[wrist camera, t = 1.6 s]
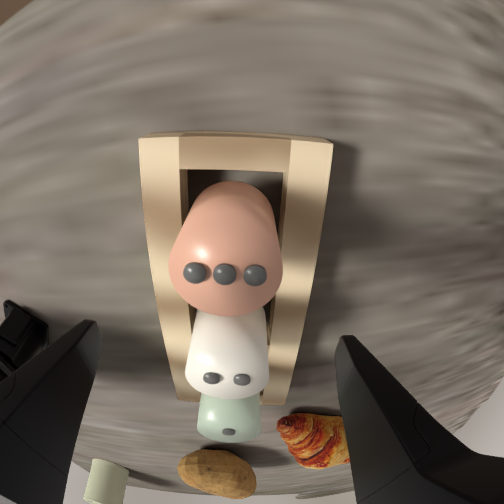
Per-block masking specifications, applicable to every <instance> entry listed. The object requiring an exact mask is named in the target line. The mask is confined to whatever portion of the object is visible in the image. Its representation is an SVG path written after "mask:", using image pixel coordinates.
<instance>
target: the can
mask: <svg viewBox="0 0 504 504" xmlns="http://www.w3.org/2000/svg"><path fill="white" fill-rule="evenodd" d="M128 475H129V471H128V470H127V469H125V468H124V467H122V466H120V465H117V464H115V463H112V462H109V461H106V460H103V459H97V458H95V459H93V462H92V467H91V471H90V475H89V479H88V483H87V487H86V491H85V495H84V498H83V499H84V500H86V501H88V502H90V503H92V504H123V499H124V493H125V487H126V483H127V478H128Z"/></svg>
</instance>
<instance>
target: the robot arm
mask: <svg viewBox="0 0 504 504" xmlns="http://www.w3.org/2000/svg"><path fill="white" fill-rule="evenodd" d="M3 305H4V312H5V320H4V321H3V322H2V324H1V325H0V504H63V499H64V493H65V488H66V483H67V478H68V473H69V468H70V464H71V460H72V455H73V451H74V447H75V443H76V439H77V436H78V432H79V428H80V425H81V421H82V418H83V414H84V411H85V407H86V404H87V401H88V397H89V394H90V391H91V388H92V385H93V381H94V378H95V374H96V369H97V364H98V360H99V356H100V351H101V347H102V342H103V339H102V335H101V333H100V330H99V327H98V325H97V323H96V321H94V320H87V319H86V320H83V321H82V322H80V323H79V324H78V325H76V326H75V327H74V328H72V329H71V330H69V331H68V332H67V333H65V334H64V335H63V336H61V337H60V338H58V339H57V340H56V341H54V342H53V343H52V344H50V345H49V344H48V326H47V325H46V324H45V323H43V322H42V321H40V320H38V319H36V318H35V317H33V316H31V315H30V314H28V313H26V312H25V311H23V310H21V309H20V308H18V307H17V306H15V305H13V304H12V303H10V302H9V301H7V300H6V301H5V302H4V303H3ZM335 366H336V377H337V389H338V399H339V404H340V409H341V414H342V420H343V425H344V430H345V436H346V441H347V447H348V452H349V458H350V464H351V470H352V476H353V483H354V489H355V496H356V502H357V504H504V458H502V457H495V456H489V455H483V454H479V453H477V452H474V451H472V450H471V449H469V448H468V447H467V446H465V445H464V444H463V443H462V442H460V441H459V440H458V439H457V438H456V437H455V436H453V435H452V434H451V433H450V432H449V431H448V430H446V429H445V428H444V427H443V426H442V425H441V424H440V423H439V422H437V421H436V420H435V419H434V418H433V417H432V416H431V415H430V414H429V413H428V412H427V411H426V410H425V409H424V408H423V407H422V406H421V405H420V404H419V403H417V401H416V400H415V398H414V397H413V396H412V395H411V394H410V393H409V392H408V391H407V390H406V389H405V388H404V387H403V386H402V385H401V384H400V383H399V382H398V381H397V380H396V379H395V378H394V377H393V375H392V374H391V373H390V372H389V371H388V370H387V369H386V368H385V367H384V366H383V365H382V364H381V363H380V362H379V361H378V360H377V359H376V358H375V357H374V356H373V355H372V354H371V353H370V352H369V351H368V350H367V349H366V348H365V347H364V345H363V344H362V343H361V342H360V341H359V340H358V339H357V338H356V337H355V336H353V335H343V336H341V337H340V340H339V343H338V346H337V348H336V351H335Z"/></svg>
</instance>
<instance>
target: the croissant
mask: <svg viewBox="0 0 504 504" xmlns="http://www.w3.org/2000/svg"><path fill="white" fill-rule="evenodd" d="M277 430H278V431H279V432H280V433H281V438H282V439H283V440H285V443H286V444H288V449H289V452H290V453H291V454H292V455H293V456H294V457H295V459H296V461H297V462H298V463H299V464H300V465H302V466H304V467H306V468H312V469H323V468H328V467H331V466H335V465H338V464H344V463H348V462H350V458H349V452H348V447H347V441H346V436H345V430H344V425H343V420H342V417H339V416H324V415H316V414H308V413H295V414H292V415H289V416H285V417H282V418H281V419H280V420H278V422H277Z"/></svg>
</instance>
